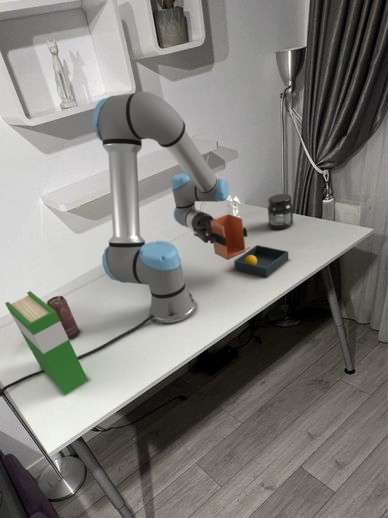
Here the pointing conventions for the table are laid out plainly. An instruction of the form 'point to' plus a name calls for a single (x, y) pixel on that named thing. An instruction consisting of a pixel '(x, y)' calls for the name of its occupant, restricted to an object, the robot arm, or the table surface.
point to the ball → (251, 260)
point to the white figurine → (232, 205)
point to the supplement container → (280, 211)
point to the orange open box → (229, 236)
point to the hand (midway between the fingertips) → (235, 237)
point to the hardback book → (48, 341)
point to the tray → (262, 261)
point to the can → (64, 316)
